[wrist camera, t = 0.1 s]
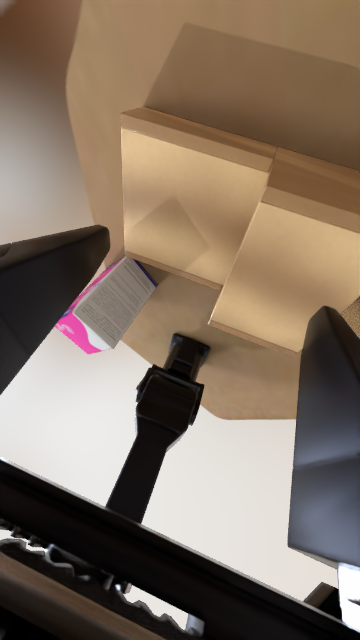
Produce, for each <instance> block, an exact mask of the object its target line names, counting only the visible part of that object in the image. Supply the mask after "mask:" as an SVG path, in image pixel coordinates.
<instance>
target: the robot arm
mask: <svg viewBox="0 0 360 640" xmlns="http://www.w3.org/2000/svg"><path fill="white" fill-rule="evenodd" d="M109 250H110V236H109V230H108V228H107V227H104V226H101V225H94V226H89V227H85V228H80V229H76V230H70V231H66V232H61V233H57V234H52V235H47V236H42V237H38V238H33V239H28V240H23V241H19V242H14V243H12V244H11V243H9V244H4V245H0V395H1V394H2V392H3V391H4V390H5V388H6V387H7V386H8V385H9V384H10V382H11V381H12V380H13V378H14V377H15V376H16V375H17V373H18V372H19V371H20V369H21V368H22V367H23V366H24V365H25V363H26V362H27V361H28V359H29V358H30V356H31V355H32V354H33V353H34V352H35V350H36V349H37V348H38V346H39V345H40V344H41V343H42V341H43V340H44V339H45V338H46V336H47V335H48V334H49V333H50V331H51V330H52V329H53V327H54V326H55V325H56V324H57V322H58V321H59V320H60V319H61V317H62V316H63V315H64V313H65V312H66V311H67V310H68V308H69V307H70V306H71V305H72V303H73V302H74V301H75V300H76V298H77V297H78V296H79V294H80V293H81V292H82V291H83V289H84V288H85V287H86V286H87V284H88V283H89V282H90V280H91V279H92V278H93V276H94V275H95V273H96V272H97V270H98V268H99V267H100V265H101V263H102V262H103V260H104V258H105V257H106V255H107V253H108V252H109ZM209 351H210V347H208V346H206V345H203V344H201V343H198V342H196V341H193V340H191V339H188V338H186V337H183V336H180V335H178V334H174V335H173V337H172V341H171V345H170V349H169V355H168V357H167V359H166V362H165V364H164V366H163V368H161V367H158V366H157V365H155V364H153V366H152V368H149V369H148V371H147V373H146V375H145V377H144V378H143V380H142V381H141V382H140V383H139V385H138V386H137V388H136V391H137V398H136V402H137V403H138V404H137V406H136V414H135V429H136V439H135V441H134V443H133V446H132V448H131V450H130V452H129V455H128V457H127V459H126V461H125V464H124V466H123V468H122V470H121V473H120V475H119V477H118V479H117V481H116V484H115V486H114V488H113V490H112V493H111V495H110V497H109V500H108V502H107V504H106V506H105V507H104V506H102V505H100V504H98V503H96V502H94V501H92V500H90V499H87V498H85V497H83V496H81V495H79V494H77V493H75V492H73V491H71V490H69V489H67V488H64V487H63V486H60V485H58V484H56V483H54V482H52V481H50V480H48V479H46V478H44V477H42V476H40V475H38V474H35V473H33V472H31V471H29V470H27V469H25V468H23V467H21V466H19V465H17V464H15V463H12V462H10V461H8V460H6V459H4V458H2V457H0V529H2V530H9V531H11V532H12V533H11V536H12V537H14V538H25V539H27V540H28V545H30V546H32V547H42V548H44V549H45V552H44V551H30V550H28V549H26V542H24V541H23V540H21V539H3V540H0V640H360V339H359V338H358V337H357V335H356V334H355V333H354V332H353V330H352V329H351V328H350V326H349V325H348V324H347V323H346V321H345V320H344V319H343V317H342V316H341V315H340V314H339V312H338V311H337V310H336V309H335V308H332V307H329V306H327V305H325V306H322V307H321V308H320V309H319V310H318V311H317V312H316V313H315V314H314V315H313V316H312V317H311V318H310V320H309V322H308V325H307V330H306V335H305V339H304V344H303V349H302V354H301V363H300V377H299V391H298V405H297V418H296V433H295V446H294V448H295V449H294V460H293V472H292V487H291V499H290V514H289V528H288V547H289V548H291V549H294V550H296V551H298V552H300V553H302V554H304V555H306V556H309V557H311V558H313V559H315V560H317V561H320V562H322V563H324V564H326V565H328V566H330V567H333V568H335V569H337V573H338V588H339V589H337V588H335V587H333V586H330V585H328V584H326V583H323V582H321V583H320V584H319V585H318V586H317V587H316V588H315V590H313V591H312V593H311V594H310V595H309V596H308V597H307V598H306V599H305V600H304V601H303V602H302V601H300V600H298V599H295V598H294V597H292V596H290V595H288V594H285V593H283V592H281V591H279V590H277V589H275V588H273V587H271V586H269V585H267V584H265V583H263V582H260V581H258V580H256V579H254V578H252V577H250V576H248V575H246V574H244V573H242V572H240V571H238V570H235V569H233V568H231V567H229V566H227V565H225V564H223V563H221V562H219V561H216V560H215V559H213V558H210V557H208V556H206V555H204V554H202V553H200V552H198V551H196V550H194V549H192V548H190V547H188V546H185V545H183V544H181V543H179V542H177V541H175V540H173V539H171V538H169V537H167V536H165V535H163V534H160V533H158V532H156V531H154V530H152V529H150V528H148V527H146V526H144V525H142V524H141V523H142V520H143V517H144V514H145V511H146V508H147V505H148V503H149V500H150V497H151V494H152V491H153V488H154V485H155V482H156V479H157V476H158V473H159V471H160V467H161V465H162V462H163V459H164V456H165V453H166V452H167V451H168V450H169V449H170V448H171V447H172V446H173V445H175V444H176V443H177V442H178V441H179V440H180V439H181V437H182V436H183V434H184V433H185V432H186V430H187V428H188V425H191V426H192V425H193V423H194V421H195V418H196V415H197V412H198V409H199V406H200V402H201V398H202V394H203V389H204V384H200V383H197V382H195V381H196V378H197V375H198V372H199V369H200V367H201V366H202V365H203V363H204V361H205V359H206V357H207V355H208V353H209ZM132 585H133V586H135V587H137V588H139V589H141V590H143V591H145V592H147V593H149V594H151V595H153V596H155V597H157V598H159V599H161V600H163V601H165V602H167V603H169V604H171V605H173V606H175V607H177V608H178V609H180V610H182V611H184V612H186V613H188V619H187V624H186V629H185V630H183V629H181V628H180V627H179V626H178V624H177V623H176V622H175V621H174V620H173V618H172V617H171V616H169V615H167V614H165V613H164V614H163V615H161V617H158V616H156V615H154V614H153V613H152V611H151V610H150V609H149V607H148V606H147V605H146V604H145V603H144V602H142V601H140V600H138V601H137V602H134V603H131V602H129V601H127V600H126V598H125V597H124V595H123V594H126V593H129V592H130V589H131V586H132Z"/></svg>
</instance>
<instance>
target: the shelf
mask: <svg viewBox="0 0 360 640" xmlns="http://www.w3.org/2000/svg"><path fill="white" fill-rule="evenodd" d="M121 144H122V176H123V207H124V239H125V256H127V257H129V258H132V259H135V260H138V261H140V262H143V263H146V264H148V265H151V266H154V267H157V268H159V269H162V270H165V271H168V272H170V273H173V274H176V275H179V276H181V277H184V278H187V279H190V280H192V281H195V282H198V283H201V284H203V285H206V286H209V287H212V288H214V289H217V290H220V292H219V295H218V297H217V300H216V303H215V306H214V308H213V311H212V314H211V317H210V320H209V322H208V325H210V326H212V327H215V328H218V329H220V330H223V331H225V332H228V333H231V334H233V335H236V336H239V337H241V338H244V339H246V340H249V341H252V342H254V343H257V344H260V345H262V346H265V347H267V348H270V349H273V350H275V351H278V352H280V353H283V354H286V355H288V356H291V357H293V356H294V355H296V354H297V352H299V351H300V350H301V349H302V348H303V344H304V339H305V335H306V330H307V325H308V322H309V320H310V318H311V317H312V316H313V315H314V314H315V313H316V312H317V311H318V310H319V309H320V308H321V307H322V306H325V305H327V306H329V307H332V308H335V309H336V310H337V311H338V312H339V314H341V313H342V312H343V311H344V310H345V309H346V308H347V307H348V306H349V305H351V304H352V303H353V302H354V301H355V300H356V299H357V298H358V297H359V296H360V171H358V170H354V169H351V168H348V167H344V166H341V165H337V164H334V163H331V162H327V161H324V160H321V159H317V158H314V157H310V156H307V155H304V154H300V153H297V152H294V151H290V150H287V149H284V148H280V147H277V146H273V145H270V144H267V143H263V142H260V141H257V140H253V139H250V138H246V137H243V136H240V135H236V134H233V133H230V132H226V131H223V130H220V129H216V128H213V127H209V126H206V125H203V124H199V123H196V122H193V121H189V120H186V119H182V118H179V117H176V116H172V115H169V114H166V113H162V112H159V111H155V110H152V109H149V108H145V107H140V108H136V109H133V110H129V111H126V112H122V113H121Z"/></svg>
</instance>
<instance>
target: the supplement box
mask: <svg viewBox="0 0 360 640" xmlns="http://www.w3.org/2000/svg"><path fill="white" fill-rule="evenodd" d="M157 286H158V285H157V284H156V283H155V281H154V280H153V279H152V278H151V277H150V275H149V274H148V273H147V272H146V271H145V269H144V268H143V267H142V266H141V264H140V263H139V262H138V261H137V260H135V259H132V258H129V257H127V256H126V257H124V258H123V259H121V260H120V261H118V262H117V263H115V264H113V265H112V266H110V267H108V268H107V269H106V270H105V271H104V272H103V273H102V274H101V275H100V276H99V277H98V278H97V279H96V280H95V281H94V282H93V283H92V284H91V285H90V286H89V287H88V288H87V289H86V290H85V291H83V292H82V294H81V295H80V296H78V297H77V298H76V300H75V301H74V302H73V303H72V305H71V306H70V307H69V308H68V310H67V311H66V312H65V313H64V315H63V316H62V317H61V319H60V320H59V321H58V322H57V324H56V325H55V327H56V328H57V329H59V330H60V331H61V332H62V333H63V334H64V335H66V336H67V337H68V338H69V339H71V340H72V341H73V342H74V343H75V344H76V345H78V346H79V347H80V348H81V349H82V350H83V351H85V352H86V353H87V354H92V353H96V352H101V351H105V350H110V349H114V348H115V346H116V345H117V343H118V342H119V340H120V339H121V337H122V336H123V335H124V333H125V332H126V330H127V329H128V327H129V326H130V325H131V323H132V322H133V320H134V319H135V317H136V316H137V314H138V313H139V312H140V310H141V309H142V307H143V306H144V304H145V303H146V301H147V300H148V298H149V297H150V296H151V294H152V293H153V291H154V290H155V289H156V287H157Z"/></svg>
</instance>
